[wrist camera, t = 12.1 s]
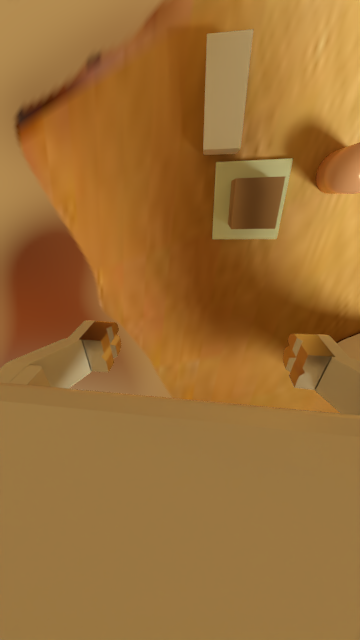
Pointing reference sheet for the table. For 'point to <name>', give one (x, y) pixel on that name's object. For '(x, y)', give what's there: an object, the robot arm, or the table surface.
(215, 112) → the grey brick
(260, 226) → the walnut cube
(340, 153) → the brown egg
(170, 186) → the table surface
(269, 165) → the green tile
